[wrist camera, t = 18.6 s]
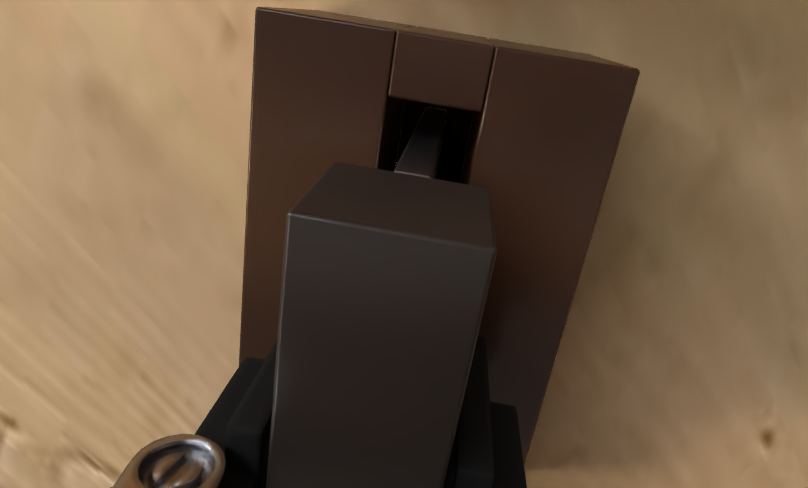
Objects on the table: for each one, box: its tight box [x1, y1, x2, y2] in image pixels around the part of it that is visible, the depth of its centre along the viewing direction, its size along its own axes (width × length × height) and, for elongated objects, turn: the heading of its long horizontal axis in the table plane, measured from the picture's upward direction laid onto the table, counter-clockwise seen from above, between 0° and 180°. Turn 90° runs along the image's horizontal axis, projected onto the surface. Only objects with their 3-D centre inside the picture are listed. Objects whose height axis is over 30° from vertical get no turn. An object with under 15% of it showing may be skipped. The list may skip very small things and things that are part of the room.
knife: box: [266, 107, 497, 488], centre depth 13 cm, size 10×2×10 cm, turn 171°
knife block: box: [239, 7, 640, 464], centre depth 15 cm, size 14×7×4 cm, turn 171°
